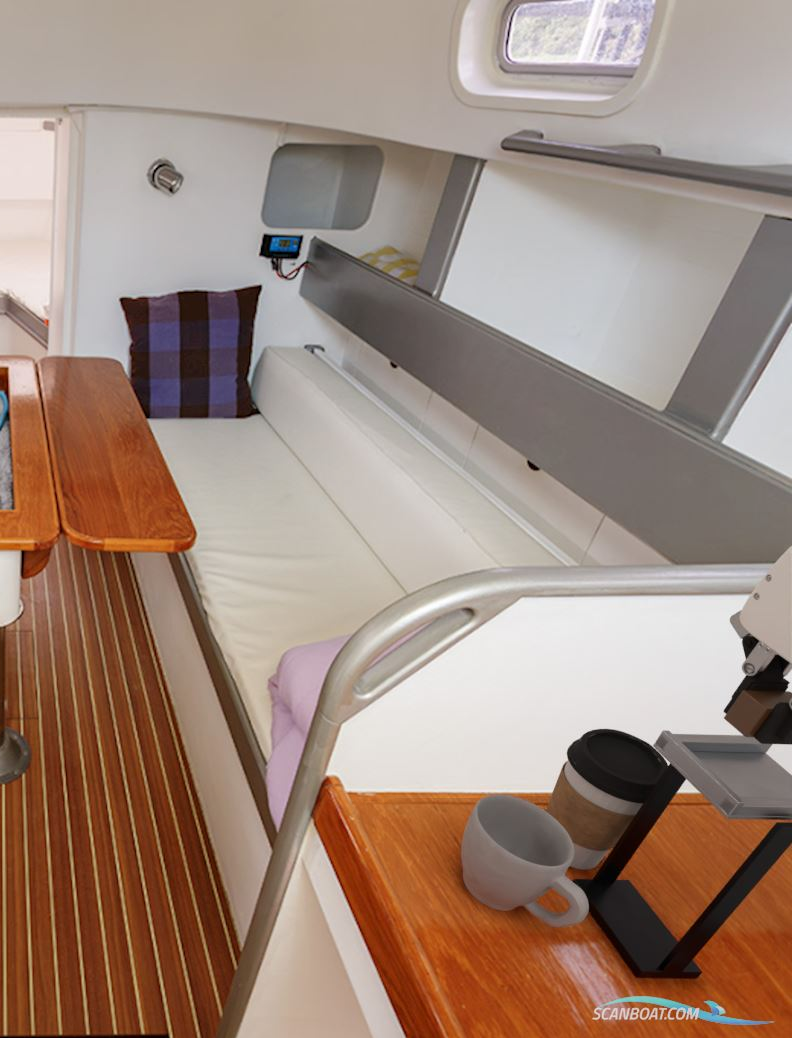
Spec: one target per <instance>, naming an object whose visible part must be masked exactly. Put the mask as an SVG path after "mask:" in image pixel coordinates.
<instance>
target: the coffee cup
mask: <svg viewBox="0 0 792 1038" xmlns="http://www.w3.org/2000/svg"><path fill="white" fill-rule="evenodd" d="M566 758H567V760H566V761H565V762H564V763H563V765H562V767H561V769H560V771H559V775H558V777H557V779H556V783H555V785H554V787H553V790H552V793H551V795H550V798H549V801H548V804H547V806H546V809H545V811H546V812H547V813H549V814H550V815H551V816H553V817H554V818H555V819H556V820H557V821H558V822H559V823H560V824H561V825H562V826H563V827H564V829H565V830H566V831H567V833H568V834H569V836H570V838H571V840H572V843H573V846H574V858H573V860H572V862H571V864H570V866H569V867H570V868H573V869H577V870H582V871H583V870H591V869H594V868H596V867H597V866H598V865H599V864H600V862H601V861H602V860H603V859H604V858H605V857H606V855H607V854H608V853H610V852H611V850H612V849H613V848H614V846H615V845H616V843H617V842H618V840H619V839H620V837H621V836H622V834H623V833H624V831H625V830H626V828H627V827H628V825H629V824H630V822H631V821H632V819H633V818H634V816H635V815H636V813H637V812H638V810H639V809H640V808H641V806H642V805H643V803H644V802H645V800H646V799H647V797H648V796H649V794H650V793H651V791H652V790H653V788H654V787H655V785H656V784H657V782H658V781H659V779H660V778H661V776H662V775H663V773H664V772H665V770H666V769H667V767H668V766H669V764H668V762H667V759H666V758H665V757H664V756H663V755H662V754H661V753H660V752H659V751H658V750H657V749H656V748H655V747H654V746H653V745H652V744H650V743H649V742H647V741H645V740H643V739H641V738H639V737H637V736H635V735H632V734H630V733H627V732H625V731H622V730H618V729H611V728H598V729H591V730H588V731H586V732H585V733H583V734H582V735H581V737H580V738H578V739H576V740H574V741H573V742H572V743H571V744H570V745H569V746H568V747H567V750H566Z"/></svg>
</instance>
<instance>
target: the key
mask: <svg viewBox="0 0 792 1038" xmlns="http://www.w3.org/2000/svg"><path fill="white" fill-rule="evenodd" d="M791 698H792V691H787V690H786V691H750V690H743V691H742V693H741V694H740V695H739V697H738V698H737V700H736V701H735V703H734V704H733V705H732V707H731V708H730V710H729V711H728V713H727V714H726V713H725V716H723V719H724V720H725V721H726V722H727V723H728V724H729V725H731V726H732V727H733V728H734V729H736V730H737V731H738V732H739V733H740V734H741V735H744V736H745V737H755V734H756V733H757V731H758V730H759V729H760V727H761V726H762V725H763V723H764V722H765V721H766V719H767V718H768V717H769V715H770V714H771V713H772V711H773V710H774V709H773V708H774V707H775V705H776V704H778V703H780V702H787V703H789V701H790V699H791Z"/></svg>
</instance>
